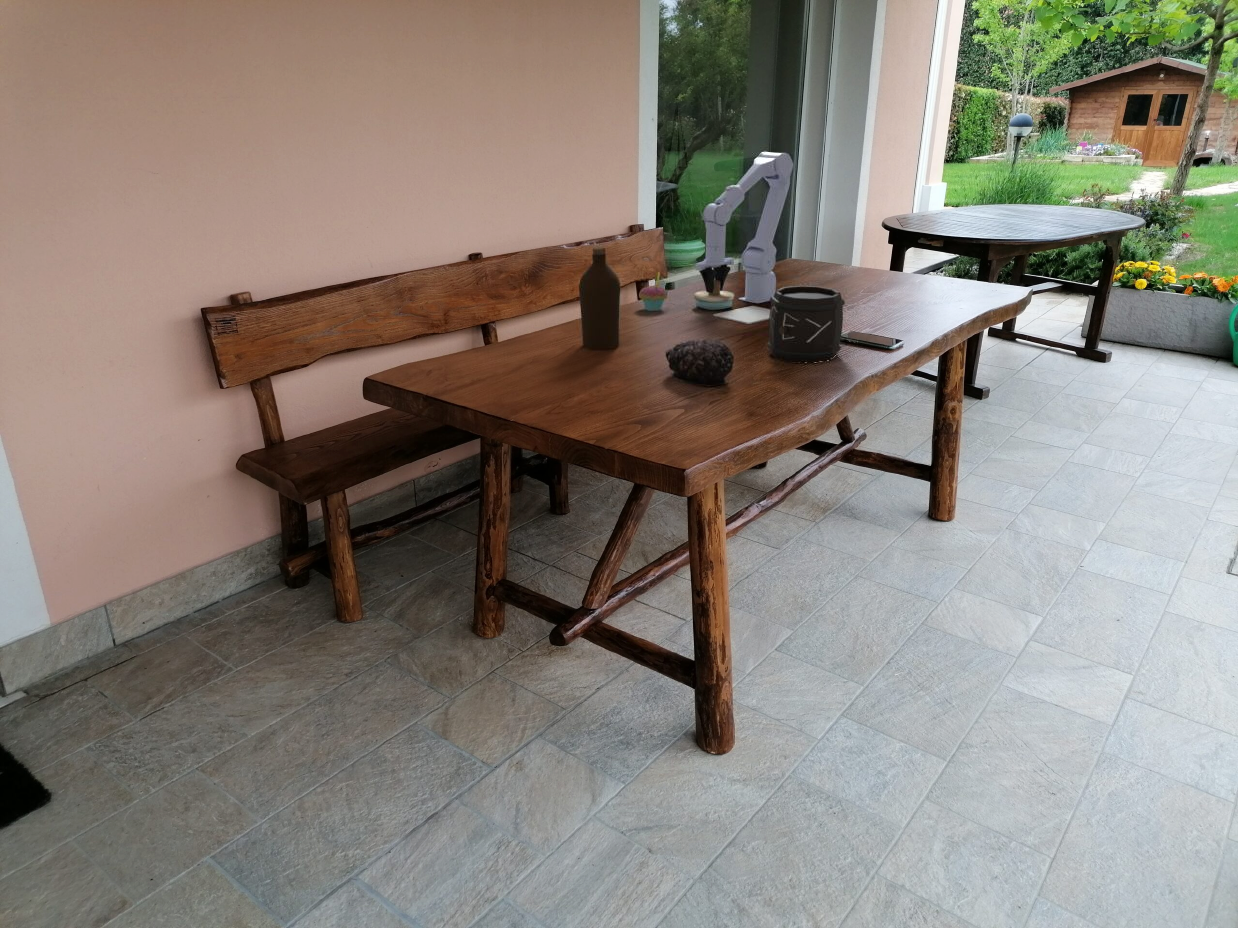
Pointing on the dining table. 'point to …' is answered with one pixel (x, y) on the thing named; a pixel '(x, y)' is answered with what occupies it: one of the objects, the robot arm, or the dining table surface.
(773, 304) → the dark grey barrel
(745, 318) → the mat
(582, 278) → the olive oil
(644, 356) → the dining table surface
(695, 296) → the lid
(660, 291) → the cupcake
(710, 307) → the light blue flat disc
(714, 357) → the pine cone
